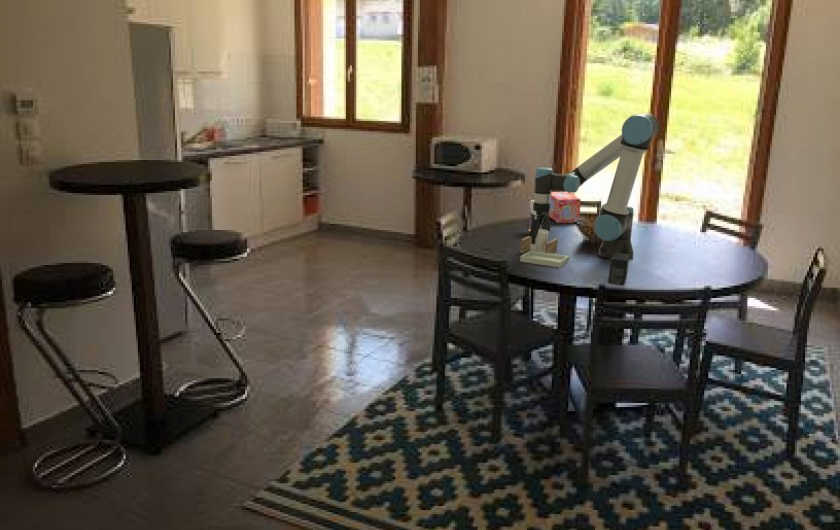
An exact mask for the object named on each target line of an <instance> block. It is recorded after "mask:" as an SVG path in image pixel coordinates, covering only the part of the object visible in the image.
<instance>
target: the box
mask: <svg viewBox="0 0 840 530" xmlns="http://www.w3.org/2000/svg"><path fill="white" fill-rule="evenodd" d="M581 202H582V201H581V198H579V197H577V196H575V195H574V194H571V192H569V193H568V192H563V191H551V202H549V203H550V211H549V219H552V220H553V221H554V220H555V221H554V222H555V223H557V224H570V223H571V224H575V223H574V222H575V221H576V220H578V219H580V218H581V217H580V216H581V204H582V203H581ZM580 220H581V219H580Z"/></svg>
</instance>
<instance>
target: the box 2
mask: <svg viewBox="0 0 840 530" xmlns="http://www.w3.org/2000/svg"><path fill="white" fill-rule="evenodd" d="M629 255H630V254H623V253H615V252H614V253H613V255H612V257H611V259H610V262H609V270H608V277H607V279H608V280H607V284H610V285H617V286H625V283H626V280H627V278H628V271H629V270H628V269H629V263H630V262H629V261H630V259H629Z"/></svg>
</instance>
